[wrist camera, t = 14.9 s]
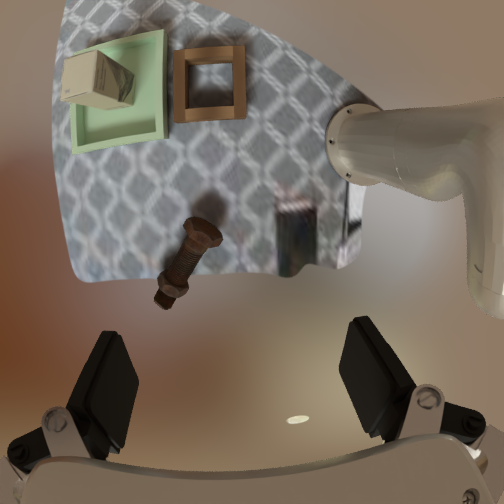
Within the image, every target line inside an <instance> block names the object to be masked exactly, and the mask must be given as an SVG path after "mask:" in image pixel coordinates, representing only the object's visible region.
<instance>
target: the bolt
mask: <svg viewBox="0 0 504 504" xmlns="http://www.w3.org/2000/svg"><path fill="white" fill-rule="evenodd" d="M183 227H184V229H185V231H186V232H187V234H188V235H187V237H186V239H185V242H184V243H183V245H182V247H181V248H180V251H179V252H178V254H177V256H176V258H175V259H174V261H173V263H172V265H171V267H170V269H169V270H165V271H163V272H161V273H160V275H159V277H158V278H157V279H158V285H159V289H158V291H157V293H156V295H155V297H154V302H155V303H156V304H157V305H158V306H159V307H161V308H162V309H164V310H168V309H170V308H171V307H172V305H173V303H174V301H175V300H176V298H179V297H181V296H183V295H185V294H186V293H187V291H188V289H189V285H188V282H187V280H188V278H189V277H190V275H191V273H192V272H193V270H194V268H195V266H196V265H197V263H198V262H199V260H200V258H201V257H202V255H203V254H204V253H205V252H206V250H207V249H208V248H212V247H217V246H219V245H220V244H221V242H222V241H223V237H222V234H221V232H220V231H219V230H218V229H217V228H216V227H215V226H214V225H212V224H211V223H209V222H208V221H206V220H204V219H201V218H198V217H190V218H188V219H186V221H185V223H184V224H183Z"/></svg>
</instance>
